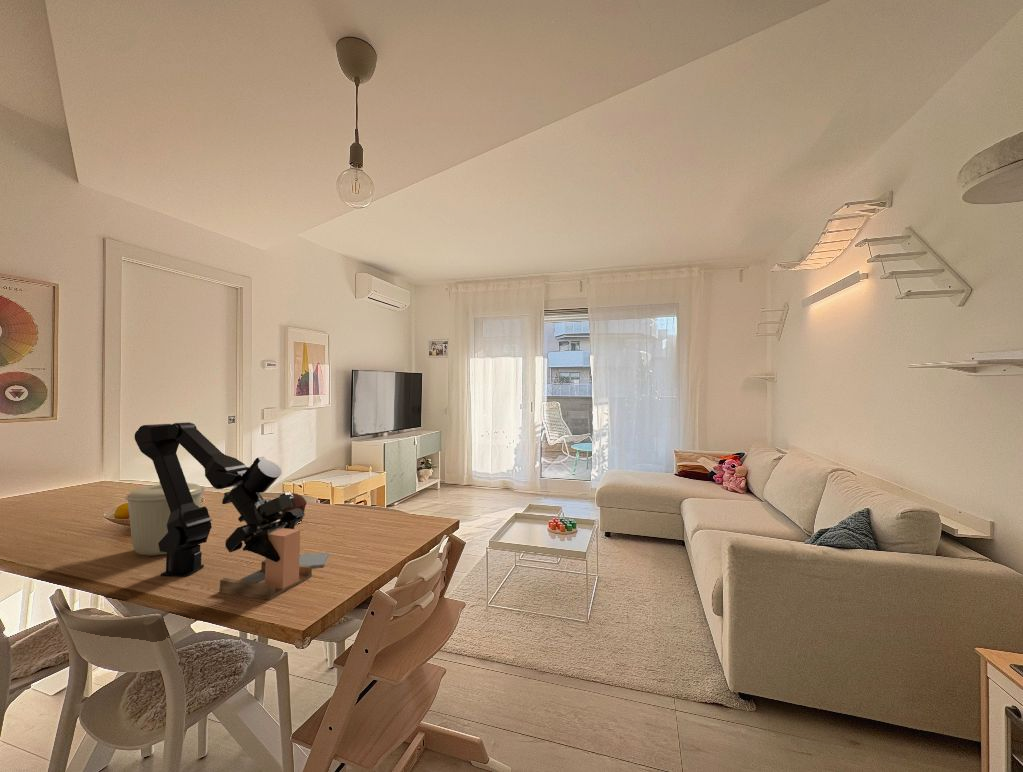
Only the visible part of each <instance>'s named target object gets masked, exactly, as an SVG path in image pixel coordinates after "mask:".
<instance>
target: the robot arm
mask: <svg viewBox="0 0 1023 772" xmlns="http://www.w3.org/2000/svg"><path fill="white" fill-rule="evenodd" d="M133 437H134V440H135V443H136V446H138V449H139V451H140V452H141V453H142V454H143V455H145V456H146V457H148V458H149V459H150V460H151V461H152V463H153V466H154V469H155V471H156V475H157V477H158V480H160V483H161V486H162V489H163V492H164V495H165V497H166V500H167V503H168V506H169V509H170V512H171V513H170V516H169V519H168V522H167V530H168V533H167V534H166V535H165V536H164V537H163V538H162V539H161V541H160V542H159V543H158V545H159V550H160V552H167V554H165V557H166V559H165V561H166V562H165V571H163V572H161V573H160V577H188V576H189V575H191V574H193V573H196V571H199V570H201V569H202V568H204V567H205V564H202V556H203V555H202V551H201V544H205V543H207V541H208V539H209V535H210V532H211V529H212V520H213V519H212V518H211V516H210V514H209V511H208V508H207V507H206V506H200V507H198V506H197V505H196V504H195V503H194V501H193V498H192V496H191V493H190V490H189V487H188V485H187V483H188V482H187V479H186V476H185V474H184V471H183V468H182V466H181V462H180V460H179V458H178V454H177V451H178V448H179V447H180V446H182V447H183V449H185V451H187V453H188V454H190V455H191V456H192V457H193V459H195V460H196V461H197V462H198V463H199V464H200V466H202V467H203V469H204V477H205V478H206V479H207V481H208V482H209V483H210V485H211V486H212V488H214V489H215V490H222V489H228V488H231V487H232V488H231V489H230V490H229V491H225V492H224V495H223V498H222V501H221V502H222V503H221V504H222V505H227V504H232V505H233V506H234V508H235V509H236V511H237V512H238V513H239V515H240V516H238V518H237V519H238V521H239V523H242V522H244V523H245V525H241V526H239V527H237V528H236V529H234V531H233V532H232V533H231V534H230V535H229V536H228V537H227V538H226V540H225V542H224V543H225V548H226V549H227V551H228V552H229V553H230V554H231V553H234V552H237V551H238V550H241V549H242V551H244V552H245V551H248V552H252V553H253V554H256V555H259V556H261V557H263V558H265V559H266V558H268V559H270V560H272V561H275V562H278V561H279V560H280V557H279V555H278V553H277V552H276V550H275V549H274V547H273V545H272V544H271V542H270V541H269V539H268V532H269V531H271V530H274V529H275V530H279V529H282V528H287V529H295V526H297V525H298V524H297V523H298V522H299V521H300V520H301V519H302V517H303V518H304V517H305V515H306V513H305V511H304V512H303V511H302V510H301V509H299V508H296V509H293V510H290V511H287V512H286V513H285V514H284V515H283V516H282V517H281V518H280V519H277V518H278V517H279V516H280V515H281V514H282V512H281V511H283V510H285V509H287V508H292V507H293V505H292V504H293V503H295V497H294V496H293V495H292V494H291V493H292V492H291V491H287V492H284V493H282V494H279V496H280V497H279V496H278V497H275V498H273V499H270V498H266V499H264V498H263V496H262V495H261V494H262V493H265V492H266V491H267V490H269V488H270V487H271V486H272V485H273V484H274V483H275V482H276V481H277V480H278V478H280V476H281V475H282V468H281V467H280V465H278V464H276V463H275V462H273V461H271V460H269V459H266V458H265V456H258V457H256V458H255V459H254V461H252V464H251V465H250V466H247V465H246V464H245V463H244V462H242V461H240V459H238V458H236V457H233V456H229V455H226V454H225V453H223V452H222V451H221V450H219V449H218V447H216V446H215V445H214V444H213V443H212V442H211V441H210V440H209V439H208V438H207V437H206V436H205V435H204V434H203V433H201V431H199V429H198V428H197V426H196V424H194V423H192V422H174V423H172V424H171V423H158V424H143V425H140V427H139V428H138V429H137V430H136V431H135V433H134V436H133ZM160 483H159V484H160ZM296 524H297V525H296ZM243 543H244V546H243Z"/></svg>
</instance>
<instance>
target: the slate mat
mask: <svg viewBox="0 0 1023 772" xmlns="http://www.w3.org/2000/svg"><path fill="white" fill-rule="evenodd" d="M329 554H330V553H329V552H317V553H315V552H314V553H304V554H303V553H300V557H299V564H300V565H307V566H312V569H314V568H324V567H325V565H326V562H327V560H328V558H329ZM327 557H328V558H327Z"/></svg>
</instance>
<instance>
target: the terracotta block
mask: <svg viewBox="0 0 1023 772" xmlns="http://www.w3.org/2000/svg"><path fill="white" fill-rule="evenodd" d="M268 539H269V541H270V542H271V544H272V545H273V547H274V549H275V550H276V552H277V553H278V555H279V557H280V560H279V561H278V562H275V561H272V560H270V559H268V558H266V557H265V560H266V565H265V584H268V585H275V588H277V589H284V588H286V587H288V586H290V585H292V584H293V583H295V582H297V581H299V557H300V555H301V553H300V551H301V550H300V549H301V529H297V528H294V529H287V528H282V529H279V530H276V531H274V532H271V533H268Z"/></svg>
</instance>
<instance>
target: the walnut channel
mask: <svg viewBox="0 0 1023 772" xmlns="http://www.w3.org/2000/svg"><path fill="white" fill-rule="evenodd" d="M265 565H266V559H264V560H262V561H261V566H260V567H261V569H260V570H257V571H254V572H253V573H250V574H249V575H247V576H244V577H242V578H240V579H233V578H227V577H224V578H222V579H220V580H219V590H218V591H219V593H224V594H231V595H236V596H243V597H250V598H255V599H262V600H268V601H272V600H274V599H275V598H277V597H278V596H280V595H282V594H284V593H285V592H287V591H289V590H291V589H292V588H294V587H296V586H297V585H300V584H301V583H303V582H305V581H306V580H308V579H310V578H312V577H313V574H312V573H313V570H312V569H313V568H312V566H307V565H300V564H299V581H297V582H295V583H293V584H292V585H290V586H288V587H286V588H284V589H277V588H275V585H268V584H265Z"/></svg>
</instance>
